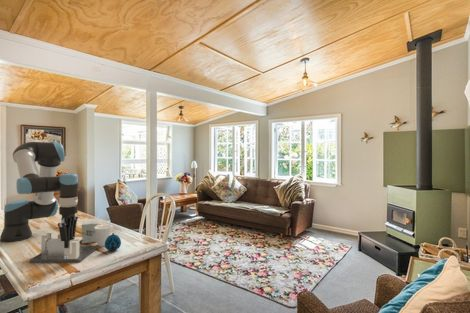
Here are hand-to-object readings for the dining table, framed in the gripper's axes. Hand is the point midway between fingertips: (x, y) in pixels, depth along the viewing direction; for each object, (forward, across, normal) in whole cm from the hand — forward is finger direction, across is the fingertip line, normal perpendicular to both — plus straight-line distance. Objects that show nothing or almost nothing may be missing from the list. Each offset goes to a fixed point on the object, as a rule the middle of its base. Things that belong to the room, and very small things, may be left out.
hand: (67, 253), depth 124 cm
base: (+6, +12, +8) cm, 16 cm away
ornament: (+6, +18, -14) cm, 24 cm away
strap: (-2, +12, +9) cm, 15 cm away
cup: (+6, +27, -5) cm, 28 cm away
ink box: (+6, +34, +6) cm, 35 cm away
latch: (+4, +7, 0) cm, 8 cm away
